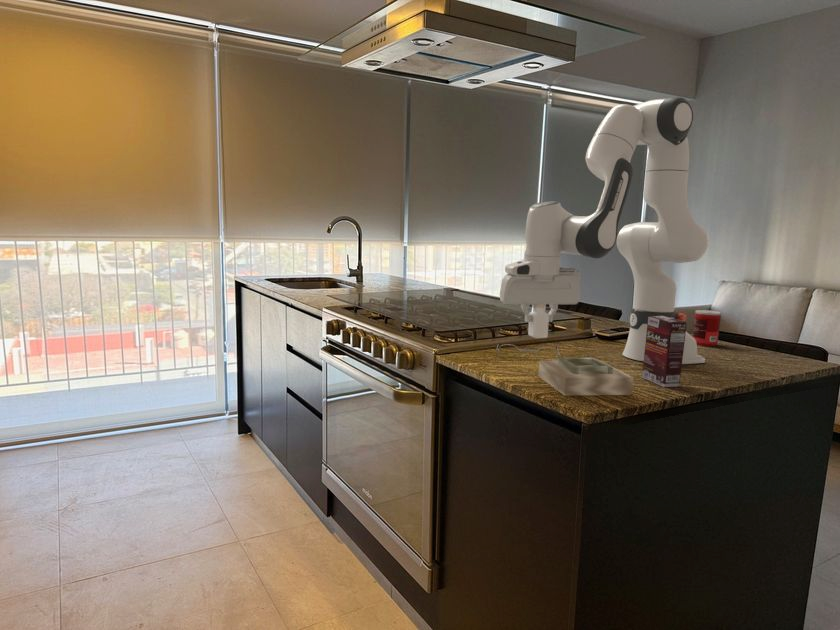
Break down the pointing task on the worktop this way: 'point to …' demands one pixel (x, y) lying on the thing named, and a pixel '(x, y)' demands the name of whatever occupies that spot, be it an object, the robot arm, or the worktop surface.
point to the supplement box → (664, 350)
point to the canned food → (706, 327)
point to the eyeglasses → (531, 350)
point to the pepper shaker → (539, 322)
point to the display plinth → (585, 377)
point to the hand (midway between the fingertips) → (538, 321)
